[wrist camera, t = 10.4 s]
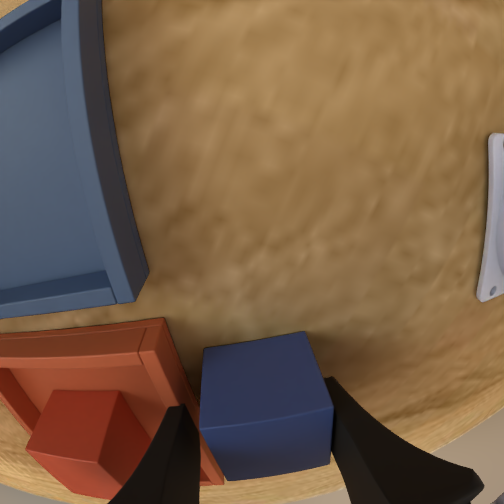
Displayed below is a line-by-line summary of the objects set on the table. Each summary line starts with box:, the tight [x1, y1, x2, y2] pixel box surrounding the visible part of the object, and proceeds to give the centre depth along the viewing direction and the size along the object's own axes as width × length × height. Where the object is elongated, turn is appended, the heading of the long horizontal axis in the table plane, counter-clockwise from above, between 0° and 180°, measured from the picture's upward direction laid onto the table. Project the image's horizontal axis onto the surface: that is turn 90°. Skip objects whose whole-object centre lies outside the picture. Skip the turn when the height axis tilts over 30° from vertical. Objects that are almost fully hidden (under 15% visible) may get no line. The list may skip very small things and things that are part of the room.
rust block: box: [25, 390, 151, 500], centre depth 10 cm, size 4×4×4 cm
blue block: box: [199, 331, 334, 481], centre depth 10 cm, size 4×4×4 cm
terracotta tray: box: [0, 318, 224, 486], centre depth 12 cm, size 10×10×2 cm
